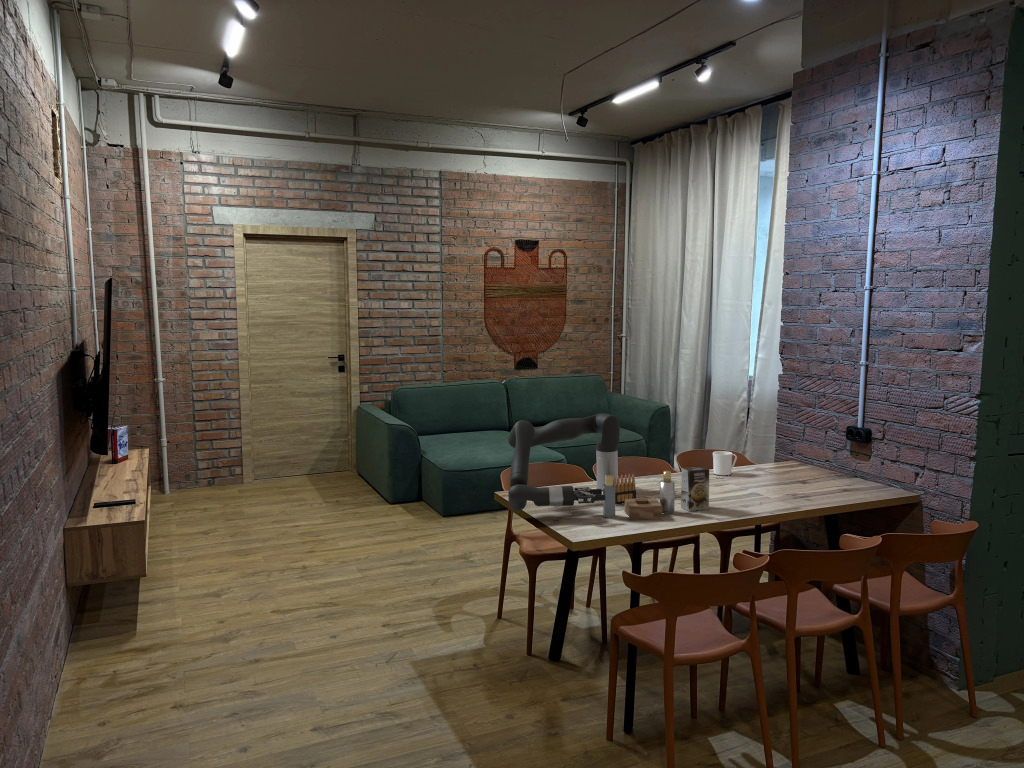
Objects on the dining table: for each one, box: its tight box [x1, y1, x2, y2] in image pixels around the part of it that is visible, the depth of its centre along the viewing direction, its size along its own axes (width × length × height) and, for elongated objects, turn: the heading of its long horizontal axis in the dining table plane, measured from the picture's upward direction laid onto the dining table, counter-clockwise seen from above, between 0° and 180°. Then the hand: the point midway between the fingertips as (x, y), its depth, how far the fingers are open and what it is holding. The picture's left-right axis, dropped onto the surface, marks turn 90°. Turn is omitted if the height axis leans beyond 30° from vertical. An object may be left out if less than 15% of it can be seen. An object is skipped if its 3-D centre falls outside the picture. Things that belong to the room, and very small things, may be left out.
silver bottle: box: [659, 470, 676, 515], centre depth 278 cm, size 6×6×16 cm
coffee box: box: [680, 466, 710, 512], centre depth 282 cm, size 9×6×16 cm
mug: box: [712, 450, 738, 477], centre depth 339 cm, size 11×9×10 cm
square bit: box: [602, 474, 616, 518], centre depth 274 cm, size 4×4×16 cm
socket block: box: [624, 497, 663, 521], centre depth 275 cm, size 12×12×5 cm
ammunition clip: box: [613, 472, 637, 505], centre depth 292 cm, size 11×2×12 cm, turn 111°
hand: (603, 494), depth 273 cm, fingers open, 8 cm apart
